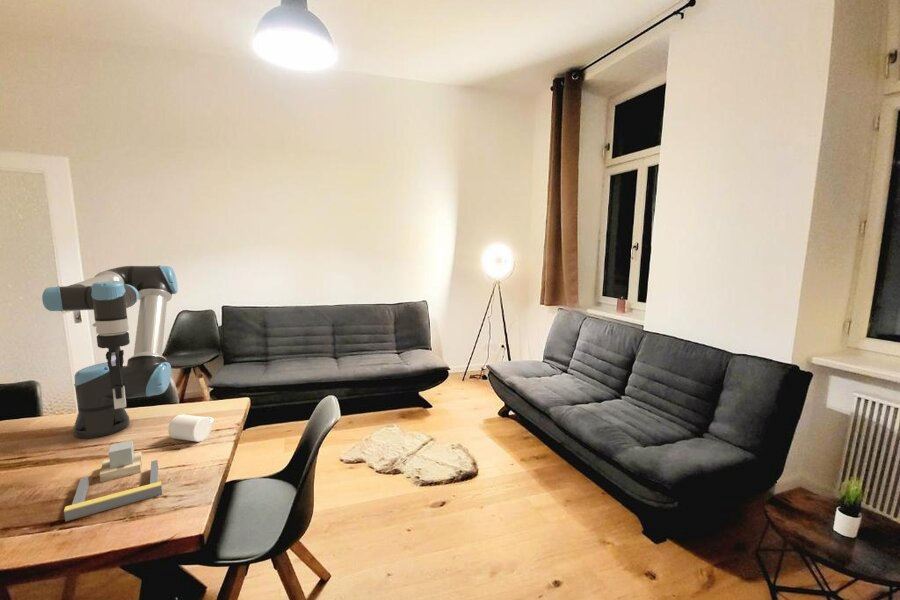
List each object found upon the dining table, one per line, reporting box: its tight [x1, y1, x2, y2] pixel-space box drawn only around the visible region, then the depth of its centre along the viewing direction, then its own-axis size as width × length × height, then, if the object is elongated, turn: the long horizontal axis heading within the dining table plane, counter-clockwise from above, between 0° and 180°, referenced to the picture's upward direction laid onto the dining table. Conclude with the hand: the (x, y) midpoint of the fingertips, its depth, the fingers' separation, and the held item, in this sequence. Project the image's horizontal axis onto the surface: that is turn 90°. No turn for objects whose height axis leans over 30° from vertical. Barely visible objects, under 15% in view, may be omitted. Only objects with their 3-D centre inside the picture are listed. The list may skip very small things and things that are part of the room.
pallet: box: [99, 451, 143, 483], centre depth 118 cm, size 9×9×3 cm
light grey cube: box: [108, 440, 135, 469], centre depth 118 cm, size 5×5×5 cm
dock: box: [63, 459, 163, 522], centre depth 108 cm, size 16×19×3 cm
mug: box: [167, 413, 215, 443], centre depth 139 cm, size 12×10×8 cm
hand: (120, 407), depth 124 cm, fingers closed
